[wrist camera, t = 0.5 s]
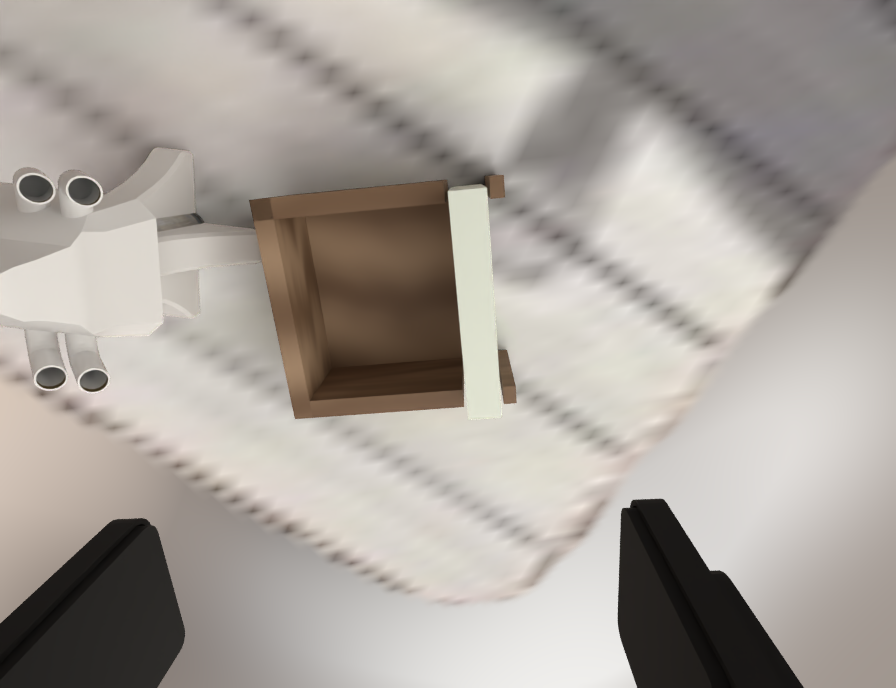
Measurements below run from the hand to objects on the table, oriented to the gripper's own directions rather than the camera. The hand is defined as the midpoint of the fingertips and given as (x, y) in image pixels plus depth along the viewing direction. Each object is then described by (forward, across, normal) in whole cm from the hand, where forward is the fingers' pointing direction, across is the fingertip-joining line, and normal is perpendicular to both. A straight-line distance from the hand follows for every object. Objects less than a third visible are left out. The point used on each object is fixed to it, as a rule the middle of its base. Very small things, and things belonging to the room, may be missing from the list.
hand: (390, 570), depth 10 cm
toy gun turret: (+29, +20, -6) cm, 35 cm away
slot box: (+29, +4, -1) cm, 29 cm away
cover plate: (+29, -2, -1) cm, 29 cm away
